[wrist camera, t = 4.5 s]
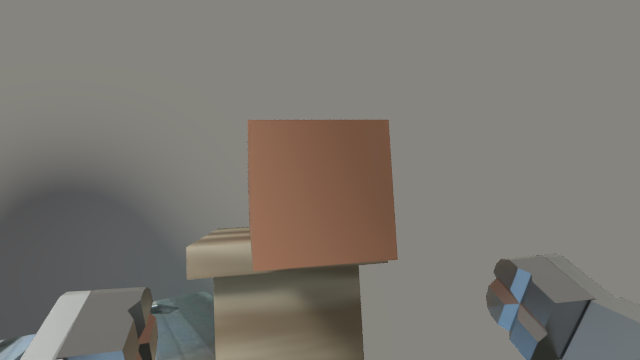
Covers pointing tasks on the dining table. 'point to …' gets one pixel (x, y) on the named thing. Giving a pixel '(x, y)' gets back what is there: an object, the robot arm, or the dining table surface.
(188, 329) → the dining table surface
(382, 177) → the block
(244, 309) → the shelf stand
